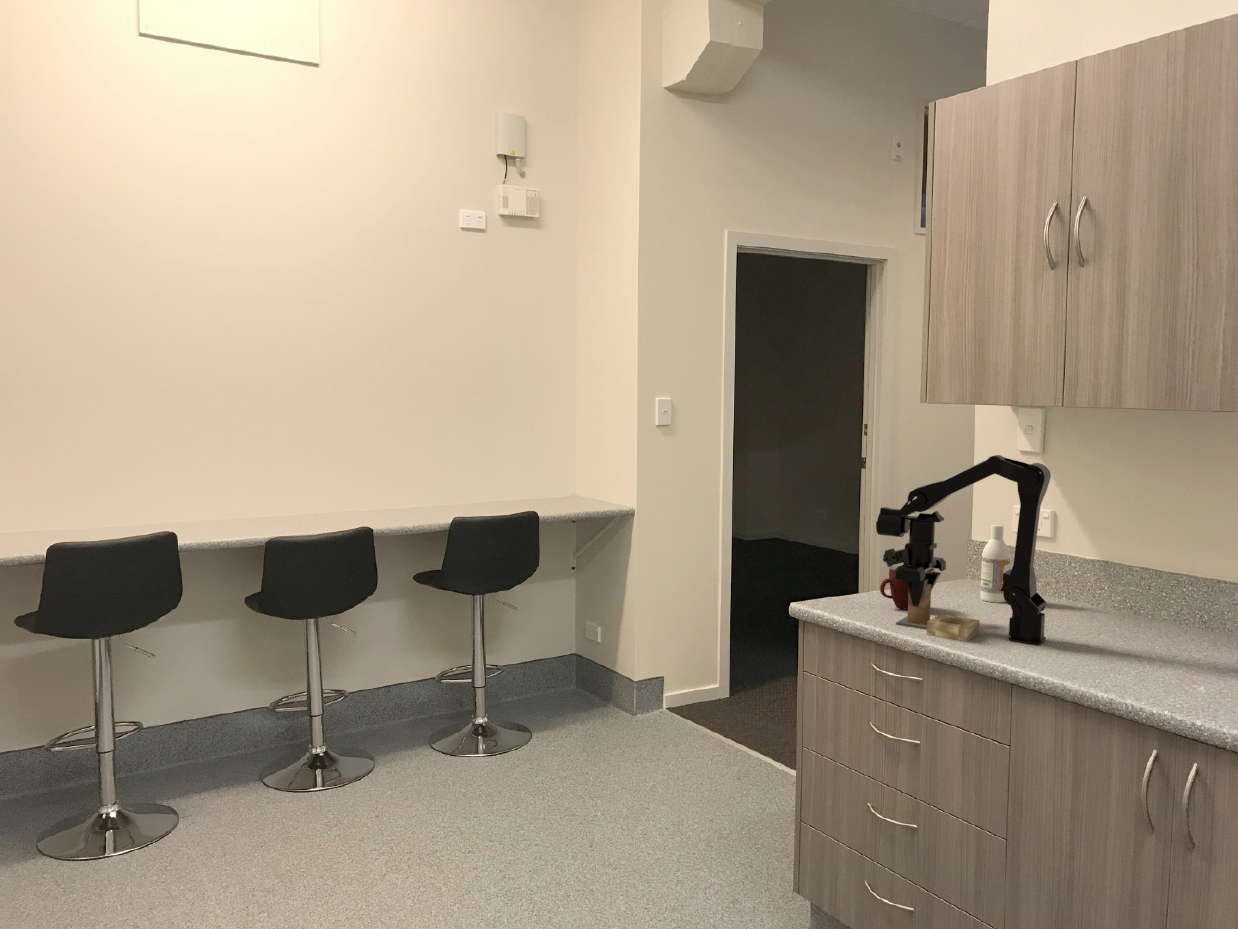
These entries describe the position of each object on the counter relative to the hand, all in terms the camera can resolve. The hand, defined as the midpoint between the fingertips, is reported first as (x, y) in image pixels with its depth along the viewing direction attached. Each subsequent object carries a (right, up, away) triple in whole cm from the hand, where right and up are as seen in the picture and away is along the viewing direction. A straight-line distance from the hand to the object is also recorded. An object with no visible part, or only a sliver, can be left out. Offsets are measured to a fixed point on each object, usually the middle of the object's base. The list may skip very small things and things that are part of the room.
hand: (919, 604), depth 234 cm
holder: (+5, -6, -8) cm, 11 cm away
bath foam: (+28, -3, +26) cm, 38 cm away
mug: (0, -4, +17) cm, 17 cm away
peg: (0, -4, 0) cm, 4 cm away
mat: (0, -5, +1) cm, 5 cm away
